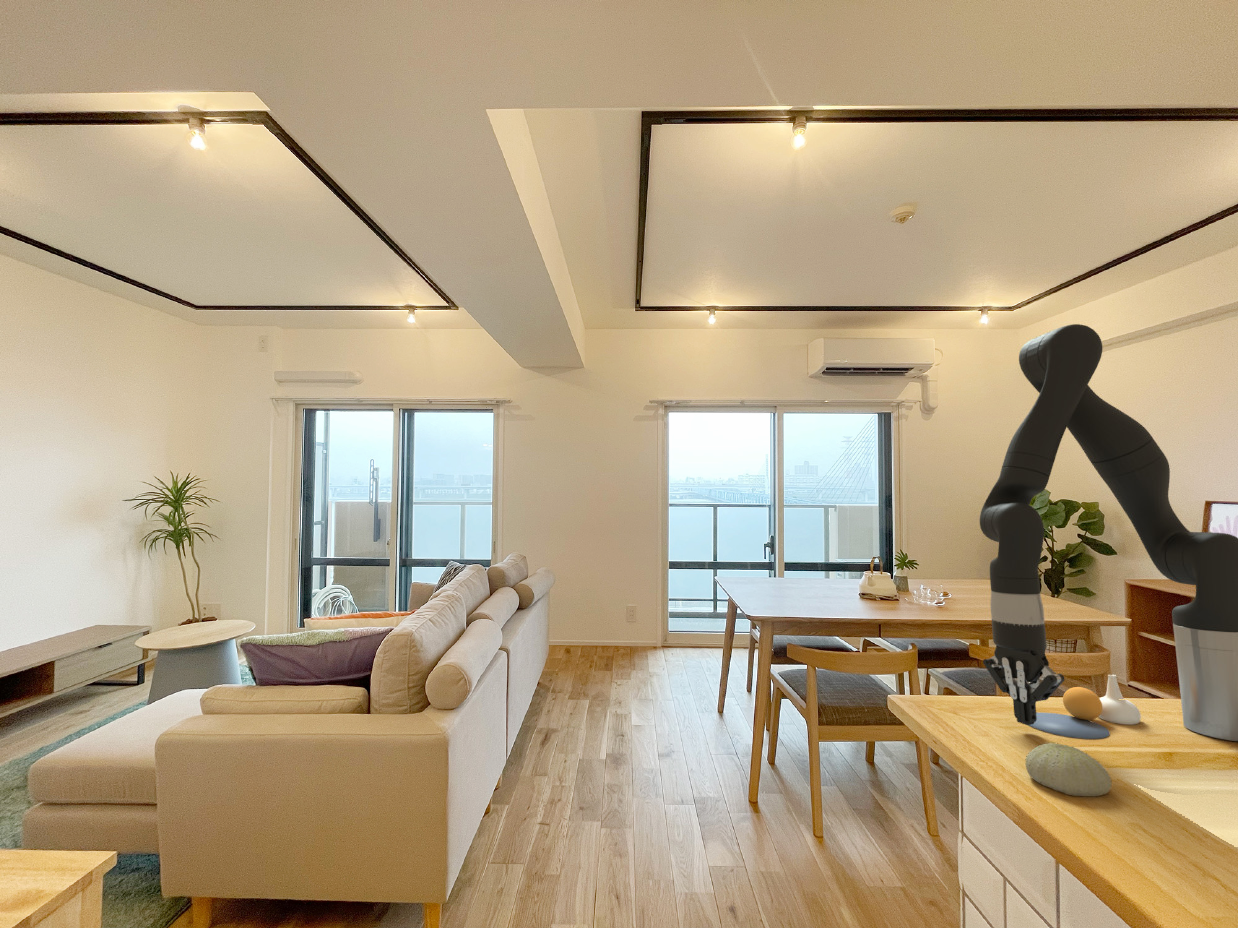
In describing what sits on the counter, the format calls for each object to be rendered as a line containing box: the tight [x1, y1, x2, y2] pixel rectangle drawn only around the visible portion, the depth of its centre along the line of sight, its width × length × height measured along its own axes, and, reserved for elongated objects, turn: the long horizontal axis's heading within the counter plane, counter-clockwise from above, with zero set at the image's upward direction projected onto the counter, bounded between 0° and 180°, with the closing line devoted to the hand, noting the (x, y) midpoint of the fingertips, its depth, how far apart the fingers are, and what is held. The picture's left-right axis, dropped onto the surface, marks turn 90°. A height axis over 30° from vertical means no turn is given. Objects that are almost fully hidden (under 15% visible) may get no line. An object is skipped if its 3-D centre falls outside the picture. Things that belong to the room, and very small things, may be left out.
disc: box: [1028, 712, 1111, 740], centre depth 98 cm, size 12×12×1 cm
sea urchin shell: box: [1025, 742, 1112, 797], centre depth 77 cm, size 9×8×8 cm
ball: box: [1062, 686, 1102, 721], centre depth 101 cm, size 6×6×6 cm
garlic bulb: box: [1098, 674, 1142, 726], centre depth 101 cm, size 6×6×8 cm
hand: (1025, 722), depth 95 cm, fingers closed
